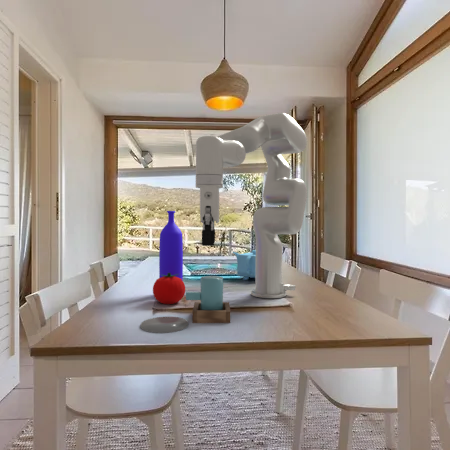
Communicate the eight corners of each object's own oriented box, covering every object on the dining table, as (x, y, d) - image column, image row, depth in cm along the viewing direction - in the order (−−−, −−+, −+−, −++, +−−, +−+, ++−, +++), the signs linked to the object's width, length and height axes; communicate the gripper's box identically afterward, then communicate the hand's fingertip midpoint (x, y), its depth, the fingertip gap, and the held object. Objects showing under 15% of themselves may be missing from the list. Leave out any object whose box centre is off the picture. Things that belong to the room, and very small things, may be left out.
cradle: (229, 314, 107) (229, 302, 107) (230, 324, 97) (230, 311, 97) (194, 314, 107) (194, 302, 106) (192, 324, 97) (192, 311, 96)
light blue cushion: (275, 277, 167) (275, 249, 166) (259, 283, 154) (259, 252, 153) (240, 274, 176) (240, 247, 176) (223, 279, 163) (223, 250, 163)
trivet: (189, 320, 101) (189, 316, 100) (186, 334, 89) (186, 330, 88) (145, 320, 100) (145, 316, 100) (136, 334, 88) (136, 330, 88)
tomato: (149, 301, 121) (149, 271, 121) (180, 299, 125) (180, 269, 125) (156, 309, 112) (156, 276, 111) (189, 306, 115) (189, 274, 115)
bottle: (178, 298, 126) (178, 211, 125) (155, 296, 128) (155, 210, 127) (185, 292, 135) (185, 211, 133) (164, 291, 136) (164, 211, 135)
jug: (222, 314, 105) (222, 275, 104) (223, 320, 99) (223, 280, 98) (187, 314, 105) (187, 275, 104) (185, 320, 98) (185, 280, 98)
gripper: (222, 179, 93) (221, 247, 93) (222, 185, 110) (222, 242, 110) (192, 179, 93) (192, 246, 93) (197, 184, 110) (197, 241, 110)
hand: (208, 244), depth 102 cm, fingers open, 9 cm apart
